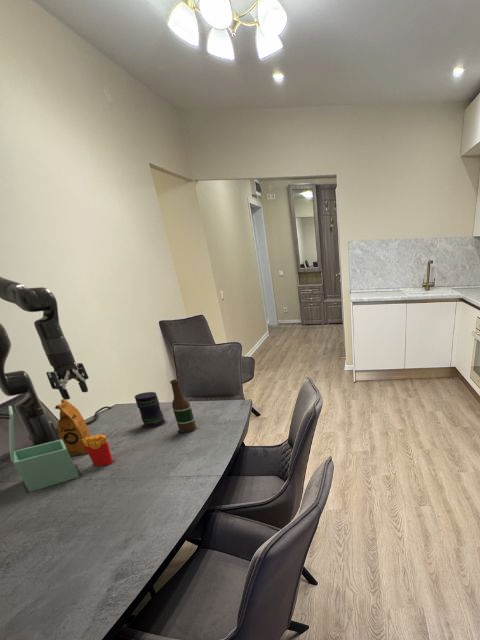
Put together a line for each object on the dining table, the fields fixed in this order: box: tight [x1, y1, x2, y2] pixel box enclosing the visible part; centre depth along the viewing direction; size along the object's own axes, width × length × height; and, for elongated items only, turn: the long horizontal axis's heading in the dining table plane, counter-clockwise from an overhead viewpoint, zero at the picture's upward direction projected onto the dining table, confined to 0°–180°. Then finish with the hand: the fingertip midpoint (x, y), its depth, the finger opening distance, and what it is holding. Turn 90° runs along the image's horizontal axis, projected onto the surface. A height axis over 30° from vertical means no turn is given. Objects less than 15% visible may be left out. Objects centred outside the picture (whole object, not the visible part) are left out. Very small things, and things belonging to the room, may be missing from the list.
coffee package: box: [54, 398, 92, 457], centre depth 167 cm, size 10×12×22 cm
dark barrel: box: [134, 391, 166, 428], centre depth 193 cm, size 10×10×15 cm
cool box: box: [12, 438, 80, 493], centre depth 147 cm, size 16×13×12 cm
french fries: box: [82, 434, 114, 467], centre depth 156 cm, size 8×4×12 cm, turn 110°
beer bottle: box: [169, 379, 197, 433], centre depth 182 cm, size 8×8×24 cm
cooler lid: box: [0, 405, 15, 463], centre depth 135 cm, size 17×13×6 cm
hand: (76, 395), depth 145 cm, fingers open, 8 cm apart
